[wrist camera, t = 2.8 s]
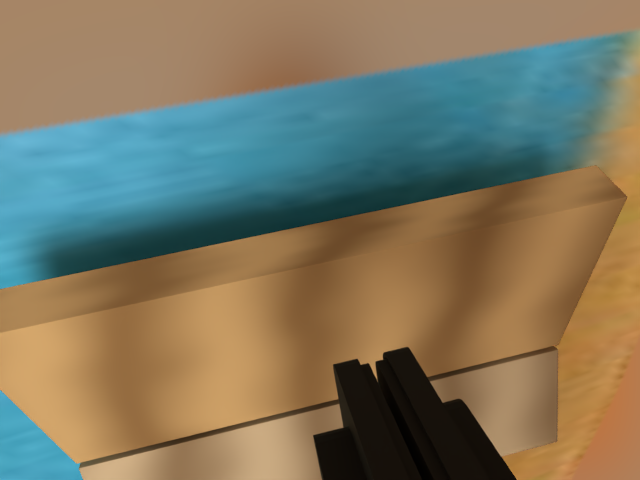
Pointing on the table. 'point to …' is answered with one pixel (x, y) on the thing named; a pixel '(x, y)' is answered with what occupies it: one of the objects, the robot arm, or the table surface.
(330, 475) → the robot arm
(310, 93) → the table surface
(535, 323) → the oak plank
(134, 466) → the ash board
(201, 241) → the table surface
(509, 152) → the table surface
